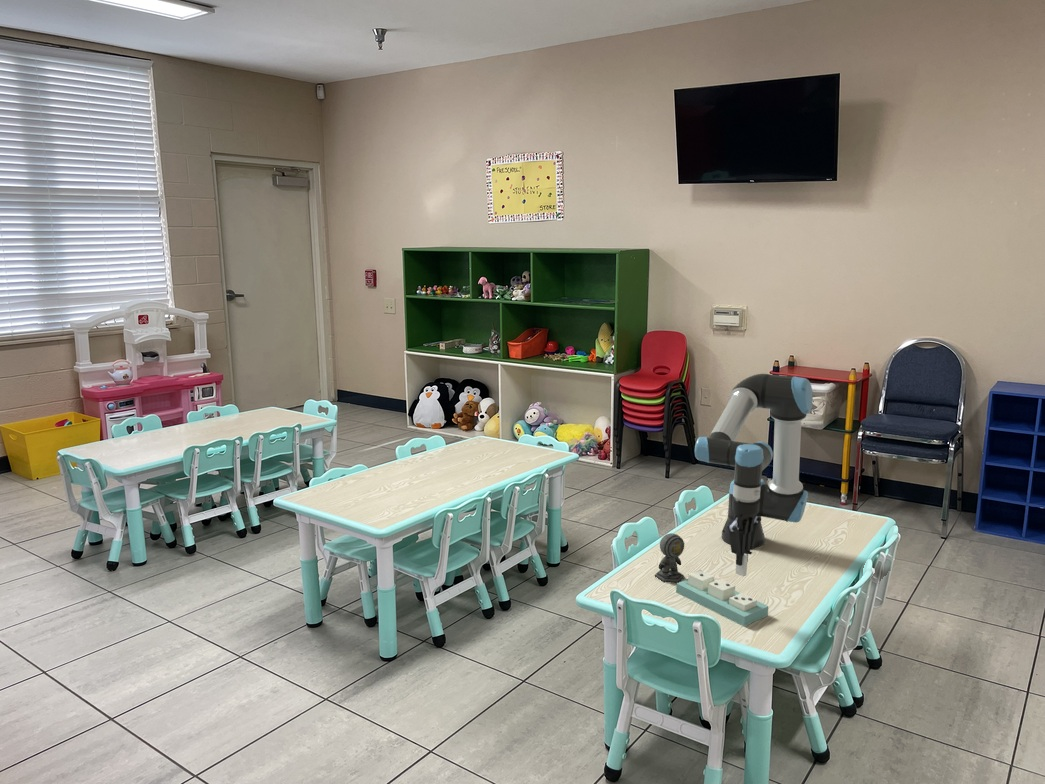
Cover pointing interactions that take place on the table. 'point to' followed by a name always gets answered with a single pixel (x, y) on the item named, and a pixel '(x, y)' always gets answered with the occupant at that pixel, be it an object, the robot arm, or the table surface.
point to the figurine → (670, 558)
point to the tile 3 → (742, 602)
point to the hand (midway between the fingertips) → (740, 574)
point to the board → (722, 605)
